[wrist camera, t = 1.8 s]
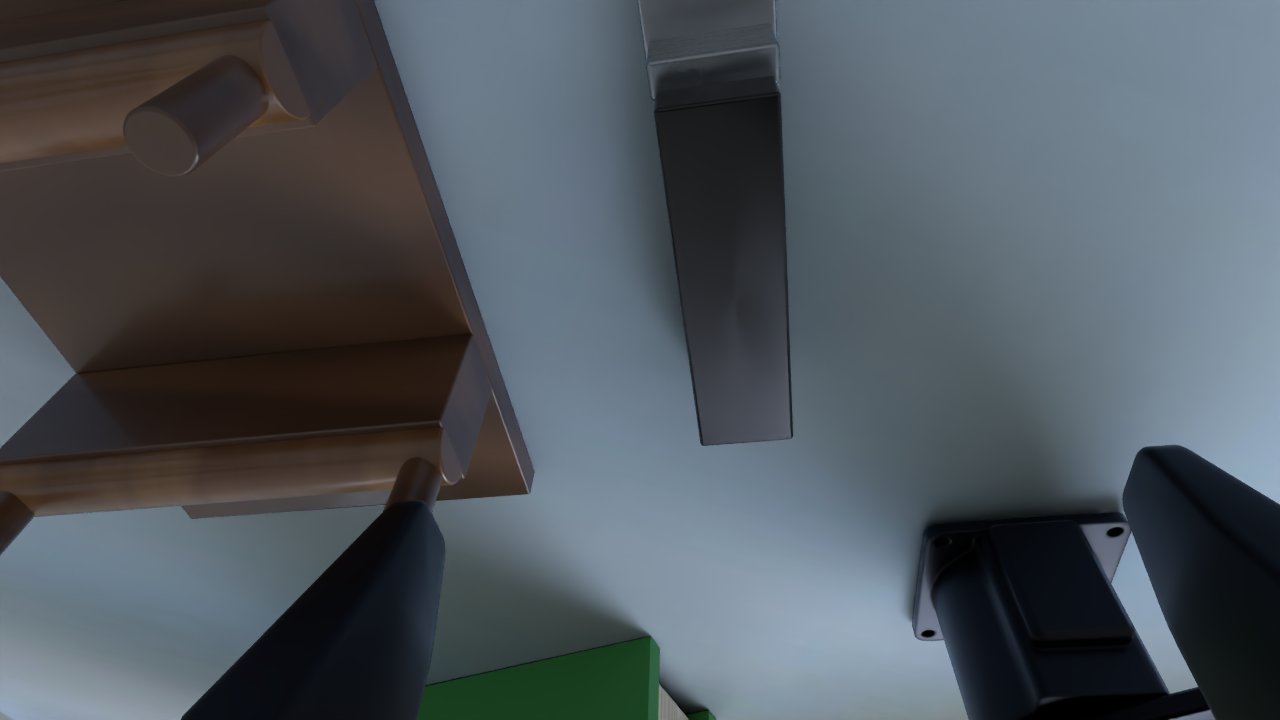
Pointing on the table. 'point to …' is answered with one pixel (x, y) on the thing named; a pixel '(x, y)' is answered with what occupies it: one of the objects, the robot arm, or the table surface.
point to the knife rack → (235, 267)
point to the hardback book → (563, 689)
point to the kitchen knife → (725, 206)
